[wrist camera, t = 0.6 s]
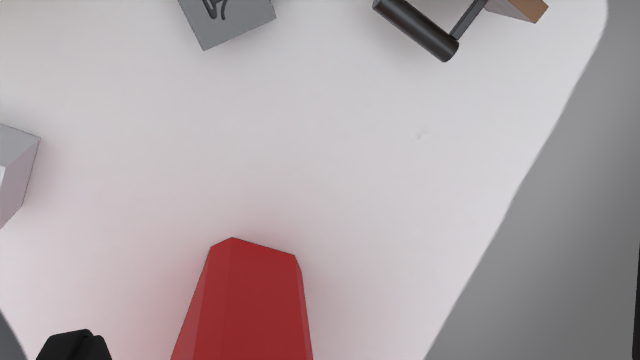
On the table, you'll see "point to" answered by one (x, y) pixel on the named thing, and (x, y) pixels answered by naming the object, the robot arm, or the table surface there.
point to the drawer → (515, 3)
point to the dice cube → (225, 18)
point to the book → (246, 307)
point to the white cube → (14, 169)
